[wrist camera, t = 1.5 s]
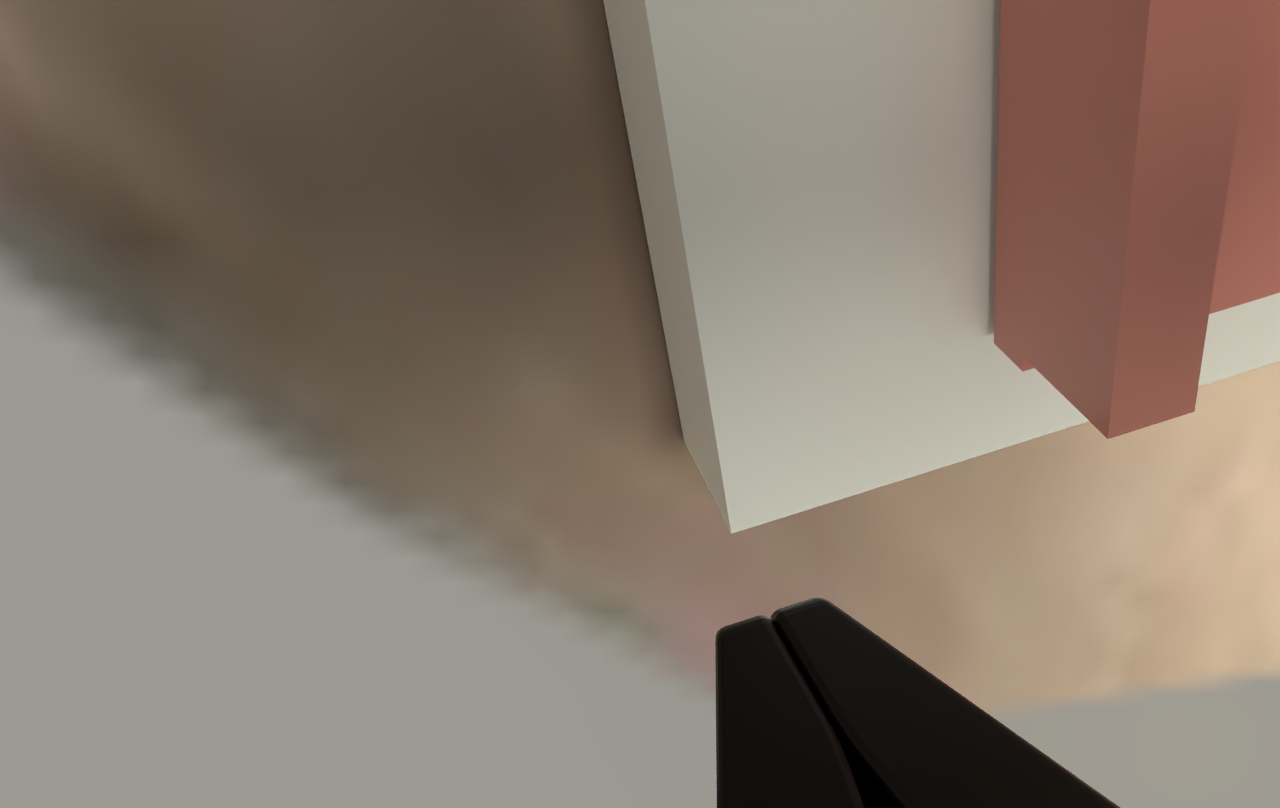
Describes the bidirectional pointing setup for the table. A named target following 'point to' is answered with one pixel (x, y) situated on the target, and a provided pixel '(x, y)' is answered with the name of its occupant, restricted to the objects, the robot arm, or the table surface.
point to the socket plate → (836, 243)
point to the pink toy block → (1133, 192)
